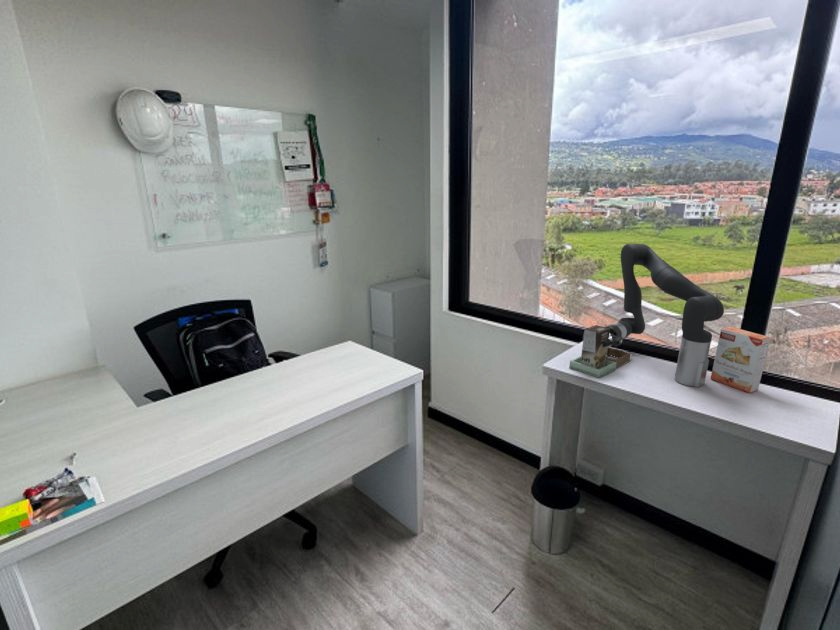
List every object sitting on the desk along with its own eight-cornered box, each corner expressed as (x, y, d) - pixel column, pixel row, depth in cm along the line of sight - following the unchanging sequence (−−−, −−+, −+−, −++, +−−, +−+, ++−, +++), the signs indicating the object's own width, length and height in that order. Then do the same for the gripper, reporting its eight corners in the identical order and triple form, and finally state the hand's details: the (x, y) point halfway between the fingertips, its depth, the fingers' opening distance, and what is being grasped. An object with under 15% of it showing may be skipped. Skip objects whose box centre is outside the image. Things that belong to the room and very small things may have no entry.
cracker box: (709, 379, 170) (720, 327, 164) (718, 376, 173) (729, 325, 167) (749, 394, 158) (762, 339, 152) (758, 390, 161) (771, 336, 155)
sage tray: (615, 369, 179) (616, 362, 178) (599, 377, 171) (600, 370, 170) (586, 359, 188) (586, 353, 188) (569, 367, 180) (569, 360, 179)
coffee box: (594, 371, 174) (599, 332, 170) (579, 366, 179) (583, 328, 174) (605, 365, 180) (610, 328, 175) (591, 360, 185) (595, 324, 180)
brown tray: (629, 360, 188) (631, 353, 187) (615, 368, 180) (616, 360, 179) (607, 354, 195) (608, 346, 194) (592, 361, 187) (593, 353, 186)
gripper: (598, 320, 189) (578, 328, 179) (631, 328, 179) (611, 337, 169) (596, 337, 191) (576, 345, 181) (629, 346, 181) (609, 355, 171)
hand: (593, 341), depth 175 cm, fingers open, 8 cm apart
